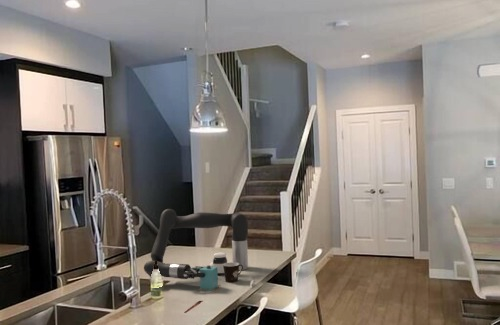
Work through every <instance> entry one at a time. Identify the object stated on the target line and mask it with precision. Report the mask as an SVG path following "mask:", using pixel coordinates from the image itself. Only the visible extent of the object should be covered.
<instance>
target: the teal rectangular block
mask: <svg viewBox="0 0 500 325" xmlns="http://www.w3.org/2000/svg"><path fill="white" fill-rule="evenodd" d="M203 267H204V268H202V269H200V273H204V274H205V277H204V278H202V277H199V280H200V287H201V289H203V290H214V289H215V288H216V287H218V285H219V275H218V272H217V267H211V266H210V264H209V265H206V266H203Z"/></svg>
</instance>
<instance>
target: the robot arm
mask: <svg viewBox="0 0 500 325" xmlns="http://www.w3.org/2000/svg"><path fill="white" fill-rule="evenodd" d="M219 227H231V228H232V236H231V250H232V262H234V263H239V265H240V264H241V265H242V266H243V270H242V271H245V270H247V269H249V260H248V259H249V254H248V253H249V252H248V236H249V235H248V234H249V228H248V227H249V222H248V218H247V216H245V214H242V213H241V212H234V213H215V212H201V211H200V212H195V213H192V214H188V215H182V216H180V215H177V213H176V211H175V210H174V209H172V208H167V209H165V210H163V211H162V213H161V214H160V218H159V228H158V229H159V230H158V232H157V235H156V237H155V241H154V243H153V246H152V249H151V253H150V259H151V260H148V261H147V262H146V263H145V264H144V265H143V270H144V272H145V274H147V275H148V276H149V277H150V278H152V277H151V274H152V271H153V266H154V262H155V261H157V264H158V267H159V271H160V274H161V275H160V276H162V277H164V278H170V279H171V278H173V279H177V280H178V279H182V280H188V279H193V280H194V279H196V278H200V277H202V278H204V277H205V274H204V273H200V269H202V268H204V267H205V266H199V265H197V266H194V267H191V266H190V264H189V263H187V264H186V263H164V256H165V253H166V250H167V245H168V241H169V238H170V234H171V230H172V229H173V230H174V229H182V228H185V229H187V228H188V229H212V228H219ZM242 266H239V271H241V269H242Z"/></svg>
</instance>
